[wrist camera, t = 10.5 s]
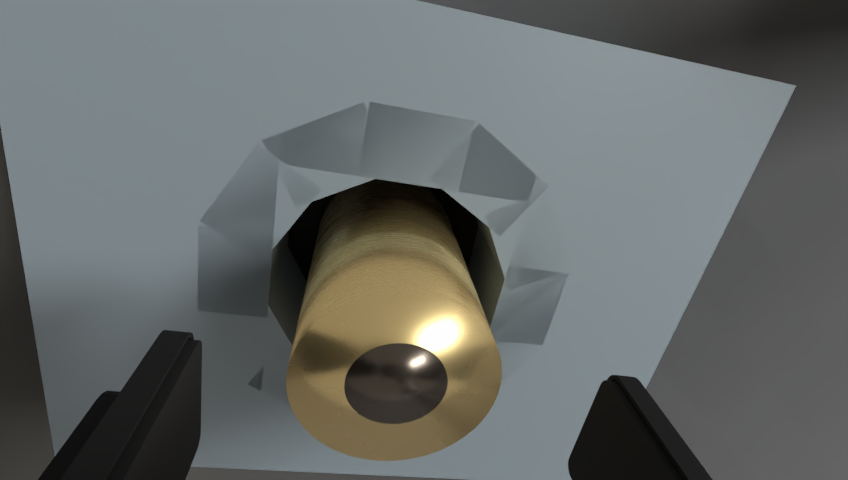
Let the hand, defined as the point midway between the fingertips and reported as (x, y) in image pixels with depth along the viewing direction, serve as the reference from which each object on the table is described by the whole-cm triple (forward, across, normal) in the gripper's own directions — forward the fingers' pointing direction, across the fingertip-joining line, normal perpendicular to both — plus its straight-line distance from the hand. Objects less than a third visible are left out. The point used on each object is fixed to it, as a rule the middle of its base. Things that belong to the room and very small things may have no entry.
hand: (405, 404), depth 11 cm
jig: (+8, 0, 0) cm, 8 cm away
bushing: (+8, 0, 0) cm, 8 cm away
